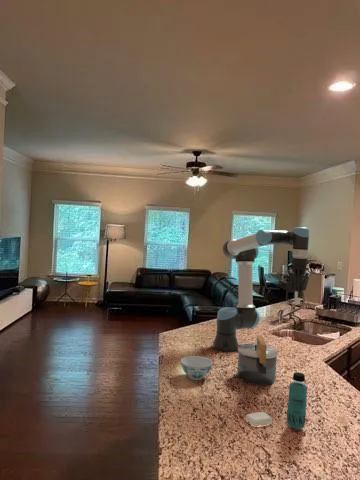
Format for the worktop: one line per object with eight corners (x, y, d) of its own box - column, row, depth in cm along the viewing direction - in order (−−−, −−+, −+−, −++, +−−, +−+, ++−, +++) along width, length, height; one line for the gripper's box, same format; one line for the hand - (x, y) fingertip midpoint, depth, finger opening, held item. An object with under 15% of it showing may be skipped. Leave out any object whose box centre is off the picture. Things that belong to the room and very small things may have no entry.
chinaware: (215, 374, 185) (215, 358, 185) (207, 386, 171) (207, 369, 171) (185, 369, 190) (186, 354, 190) (175, 380, 176) (176, 363, 176)
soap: (263, 416, 146) (264, 409, 146) (274, 425, 140) (274, 417, 139) (243, 420, 143) (243, 412, 142) (253, 429, 136) (253, 421, 136)
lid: (236, 344, 194) (237, 326, 194) (274, 347, 193) (275, 329, 192) (240, 364, 166) (241, 343, 166) (285, 367, 164) (286, 346, 164)
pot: (235, 366, 198) (236, 343, 198) (271, 368, 197) (272, 345, 196) (240, 392, 166) (241, 365, 166) (282, 395, 165) (284, 368, 164)
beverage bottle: (283, 423, 141) (286, 370, 140) (301, 423, 141) (304, 370, 140) (290, 433, 134) (293, 377, 133) (308, 433, 135) (311, 377, 134)
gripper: (284, 256, 197) (282, 302, 198) (306, 259, 186) (303, 307, 187) (294, 256, 201) (291, 301, 202) (315, 258, 191) (312, 305, 192)
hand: (297, 303), depth 195 cm, fingers closed
